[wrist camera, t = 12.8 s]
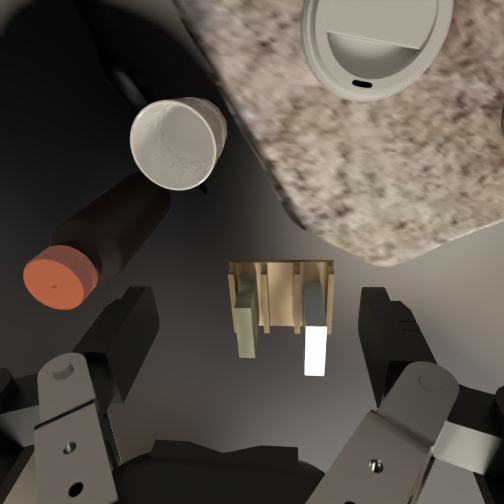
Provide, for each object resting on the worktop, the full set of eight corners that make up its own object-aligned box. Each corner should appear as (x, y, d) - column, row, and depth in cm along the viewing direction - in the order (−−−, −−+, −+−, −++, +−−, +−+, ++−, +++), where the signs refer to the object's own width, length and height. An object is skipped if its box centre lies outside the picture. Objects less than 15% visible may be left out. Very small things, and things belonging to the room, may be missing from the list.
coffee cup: (278, 54, 35) (271, 49, 22) (337, -51, 31) (373, -134, 18) (352, 107, 37) (386, 133, 24) (418, 15, 33) (505, -16, 19)
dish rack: (333, 259, 46) (341, 298, 38) (329, 323, 51) (336, 368, 44) (230, 260, 48) (218, 297, 40) (236, 322, 53) (228, 365, 45)
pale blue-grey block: (320, 282, 47) (326, 326, 39) (318, 327, 51) (324, 375, 43) (303, 282, 47) (305, 326, 40) (302, 327, 51) (304, 375, 43)
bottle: (112, 203, 45) (1, 292, 28) (132, 160, 42) (21, 230, 25) (158, 230, 46) (80, 332, 29) (181, 191, 43) (108, 277, 26)
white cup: (151, 115, 39) (111, 130, 31) (208, 76, 37) (182, 80, 28) (190, 174, 42) (164, 204, 34) (245, 142, 40) (232, 165, 31)
